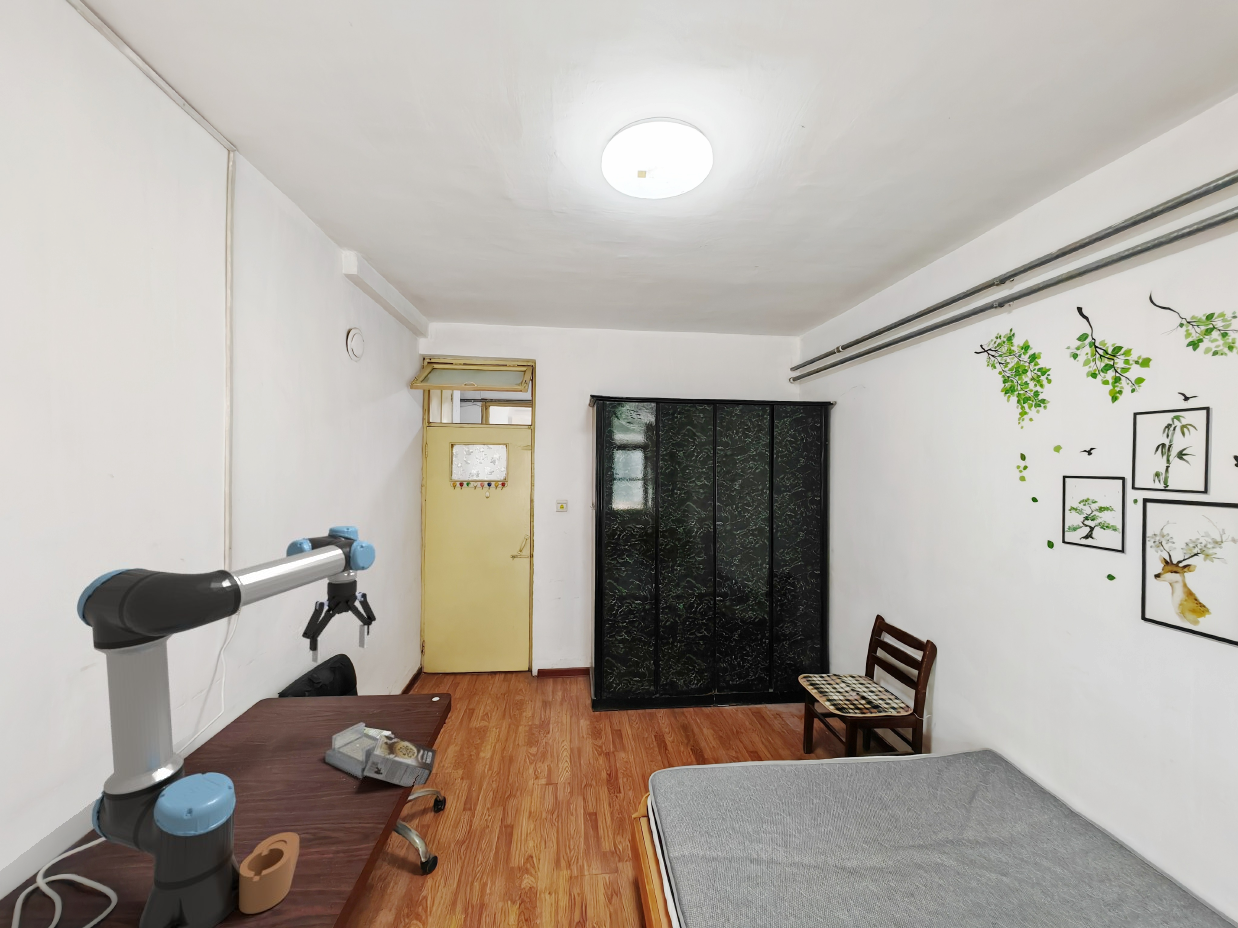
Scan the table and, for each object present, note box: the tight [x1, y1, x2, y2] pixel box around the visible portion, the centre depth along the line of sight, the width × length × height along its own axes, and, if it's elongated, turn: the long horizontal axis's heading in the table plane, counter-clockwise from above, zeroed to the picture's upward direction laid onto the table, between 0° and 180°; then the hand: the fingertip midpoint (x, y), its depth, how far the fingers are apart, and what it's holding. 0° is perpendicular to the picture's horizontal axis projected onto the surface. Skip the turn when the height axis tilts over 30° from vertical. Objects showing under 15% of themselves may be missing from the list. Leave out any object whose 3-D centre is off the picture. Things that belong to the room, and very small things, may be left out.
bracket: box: [238, 831, 300, 915], centre depth 103 cm, size 18×8×7 cm, turn 24°
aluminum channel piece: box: [325, 721, 395, 779], centre depth 144 cm, size 12×16×7 cm
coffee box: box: [363, 733, 437, 787], centre depth 136 cm, size 9×6×16 cm
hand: (340, 654), depth 143 cm, fingers open, 13 cm apart
